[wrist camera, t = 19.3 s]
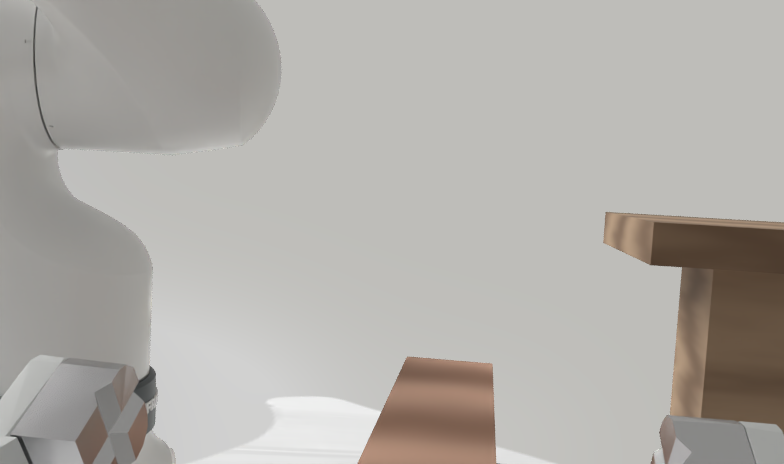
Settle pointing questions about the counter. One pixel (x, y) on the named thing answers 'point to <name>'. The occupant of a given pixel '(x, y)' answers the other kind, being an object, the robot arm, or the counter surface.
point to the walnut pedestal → (719, 310)
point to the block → (436, 416)
